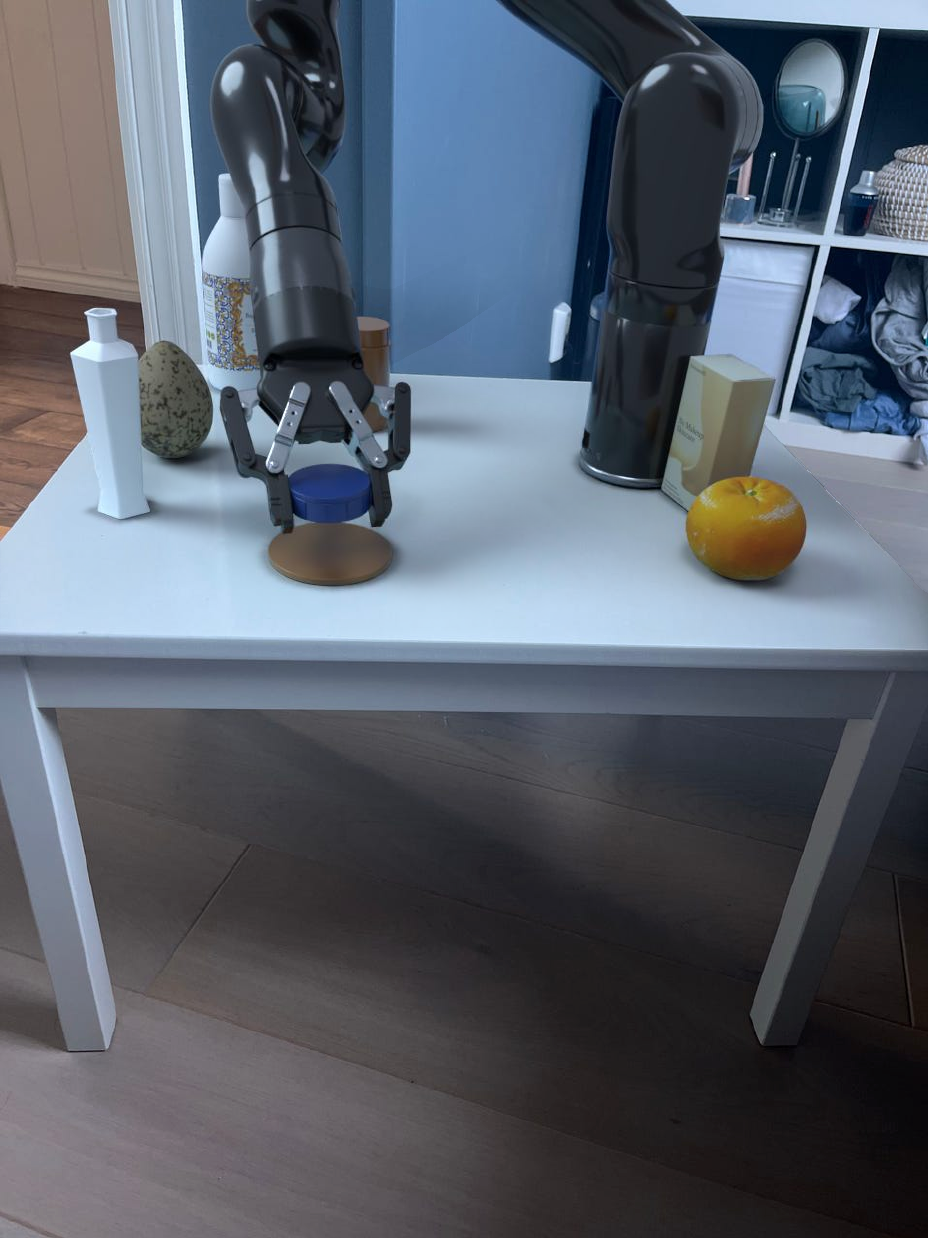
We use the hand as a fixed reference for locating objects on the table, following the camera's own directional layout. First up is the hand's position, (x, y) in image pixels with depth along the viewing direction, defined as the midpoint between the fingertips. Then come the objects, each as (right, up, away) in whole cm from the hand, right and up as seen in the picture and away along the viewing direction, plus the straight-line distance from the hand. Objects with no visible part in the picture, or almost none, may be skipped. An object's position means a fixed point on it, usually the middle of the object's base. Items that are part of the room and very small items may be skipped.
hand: (333, 526), depth 68 cm
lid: (0, +3, 0) cm, 3 cm away
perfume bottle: (-17, +2, +7) cm, 18 cm away
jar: (-1, +13, +26) cm, 29 cm away
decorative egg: (-16, +7, +16) cm, 24 cm away
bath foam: (-14, +18, +33) cm, 40 cm away
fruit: (+30, -3, +6) cm, 31 cm away
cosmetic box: (+30, +3, +16) cm, 34 cm away
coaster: (-1, -2, +3) cm, 3 cm away
